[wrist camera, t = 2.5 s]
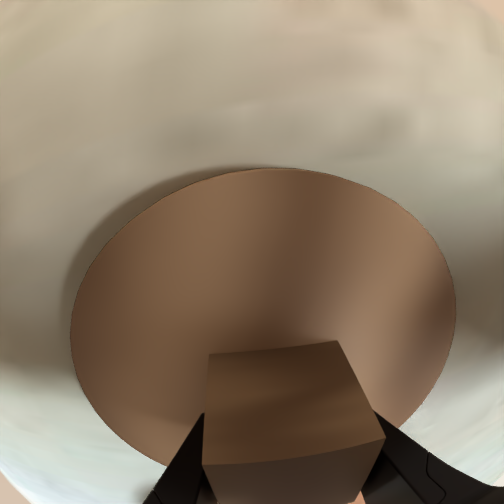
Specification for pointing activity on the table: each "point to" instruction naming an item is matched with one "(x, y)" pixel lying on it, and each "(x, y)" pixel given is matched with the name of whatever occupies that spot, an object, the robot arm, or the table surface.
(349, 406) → the walnut lid
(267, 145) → the table surface
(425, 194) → the table surface
